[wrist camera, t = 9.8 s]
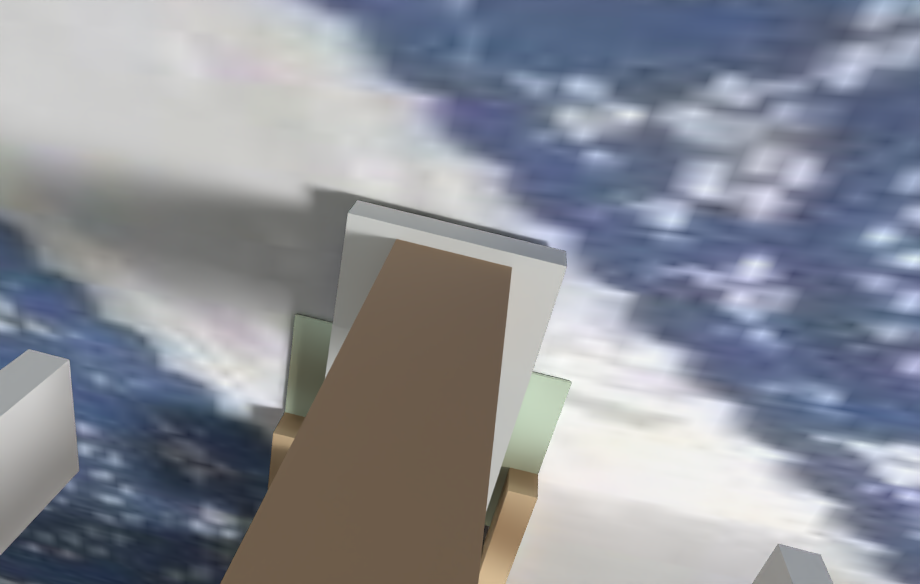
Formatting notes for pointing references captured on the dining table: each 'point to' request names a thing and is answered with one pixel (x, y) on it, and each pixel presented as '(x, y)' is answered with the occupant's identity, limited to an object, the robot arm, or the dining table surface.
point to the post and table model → (407, 407)
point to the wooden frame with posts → (518, 467)
